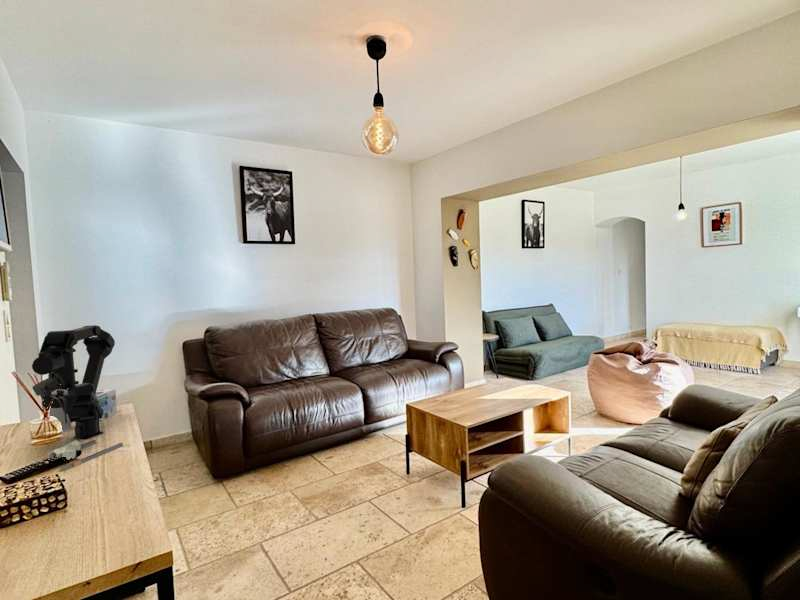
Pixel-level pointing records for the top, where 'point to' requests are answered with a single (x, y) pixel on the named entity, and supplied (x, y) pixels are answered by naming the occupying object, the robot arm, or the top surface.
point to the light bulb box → (107, 402)
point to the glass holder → (57, 412)
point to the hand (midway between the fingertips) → (67, 413)
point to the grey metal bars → (78, 462)
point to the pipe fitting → (66, 450)
